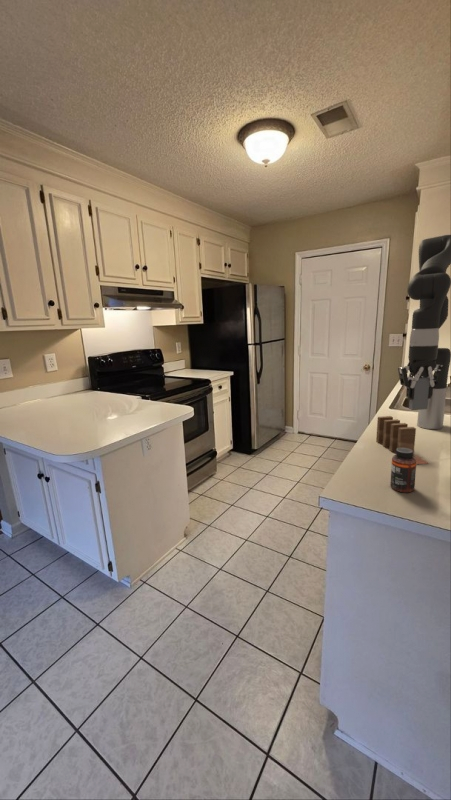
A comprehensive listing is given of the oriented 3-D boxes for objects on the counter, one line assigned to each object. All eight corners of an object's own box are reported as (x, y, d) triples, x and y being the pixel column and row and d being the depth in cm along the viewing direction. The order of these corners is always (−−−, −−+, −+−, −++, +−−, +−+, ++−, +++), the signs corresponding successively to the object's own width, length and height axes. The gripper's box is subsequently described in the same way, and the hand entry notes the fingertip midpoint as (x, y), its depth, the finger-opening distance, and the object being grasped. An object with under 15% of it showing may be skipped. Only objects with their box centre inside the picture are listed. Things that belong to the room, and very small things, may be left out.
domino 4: (396, 455, 112) (398, 427, 110) (410, 454, 112) (412, 426, 110) (399, 457, 111) (401, 429, 108) (413, 456, 111) (415, 428, 109)
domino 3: (389, 450, 117) (391, 423, 114) (402, 449, 117) (404, 422, 115) (391, 452, 115) (393, 425, 113) (405, 451, 115) (407, 424, 113)
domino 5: (427, 409, 103) (430, 377, 100) (411, 410, 102) (414, 378, 100) (423, 407, 104) (426, 376, 102) (408, 408, 104) (411, 377, 102)
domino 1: (376, 441, 125) (377, 416, 123) (388, 440, 126) (390, 416, 123) (378, 443, 124) (379, 418, 122) (391, 442, 124) (392, 417, 122)
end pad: (399, 458, 109) (399, 457, 109) (417, 457, 110) (417, 456, 110) (408, 465, 105) (408, 464, 105) (427, 463, 105) (427, 462, 105)
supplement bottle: (413, 485, 92) (416, 447, 90) (415, 495, 87) (418, 455, 84) (389, 481, 95) (392, 444, 92) (390, 491, 89) (392, 452, 87)
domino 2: (382, 446, 121) (384, 420, 119) (395, 445, 121) (397, 419, 119) (384, 447, 119) (386, 421, 117) (398, 446, 120) (400, 420, 117)
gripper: (437, 342, 103) (432, 394, 106) (393, 344, 102) (390, 397, 106) (455, 343, 95) (449, 400, 99) (408, 345, 95) (403, 402, 98)
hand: (418, 398), depth 102 cm, fingers closed on domino 5, 5 cm apart
